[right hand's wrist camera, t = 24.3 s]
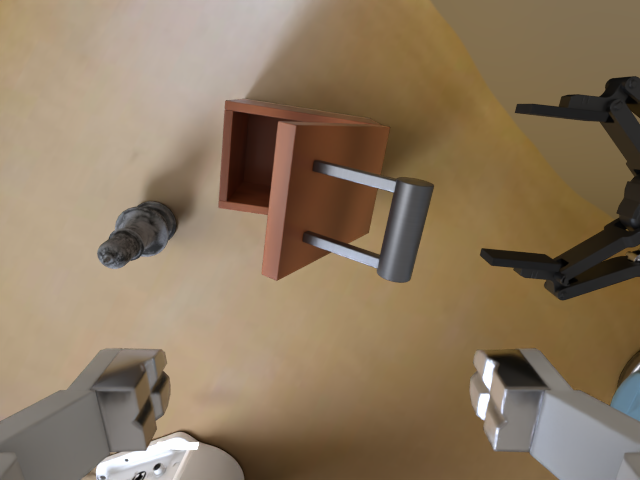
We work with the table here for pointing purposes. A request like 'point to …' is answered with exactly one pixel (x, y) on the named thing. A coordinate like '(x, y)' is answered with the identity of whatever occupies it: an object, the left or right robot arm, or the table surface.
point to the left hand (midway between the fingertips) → (503, 186)
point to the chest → (259, 149)
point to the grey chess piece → (138, 234)
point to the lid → (339, 200)
